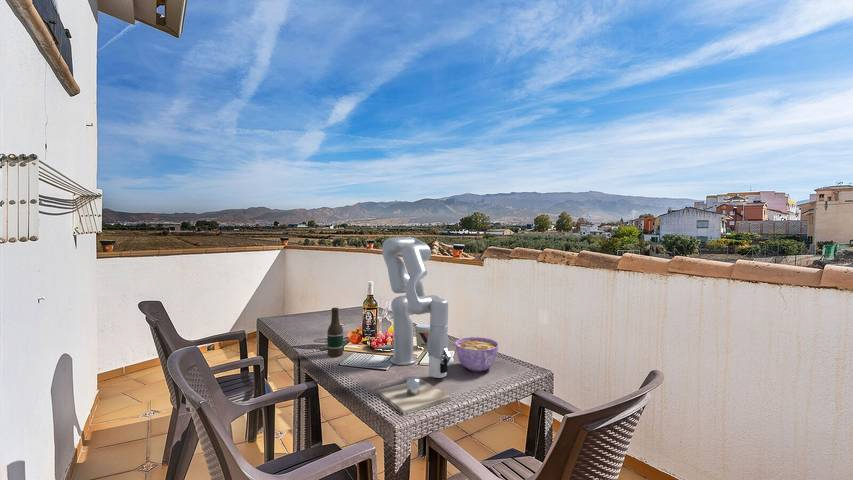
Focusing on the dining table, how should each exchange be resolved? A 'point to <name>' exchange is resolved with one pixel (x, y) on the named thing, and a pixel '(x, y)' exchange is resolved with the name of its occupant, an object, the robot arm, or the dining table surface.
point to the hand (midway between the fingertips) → (437, 368)
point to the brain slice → (384, 347)
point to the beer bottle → (335, 335)
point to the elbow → (437, 366)
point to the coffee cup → (422, 334)
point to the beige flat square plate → (413, 395)
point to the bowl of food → (477, 352)
